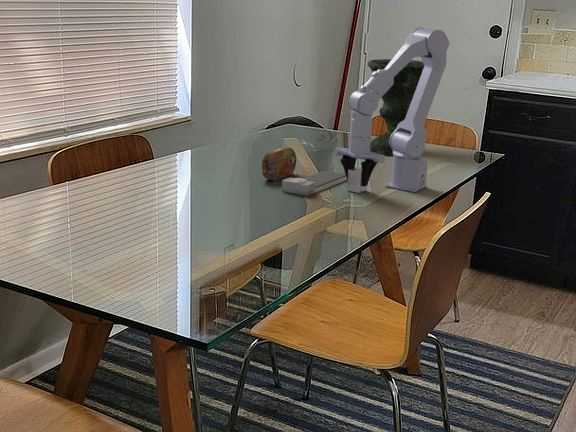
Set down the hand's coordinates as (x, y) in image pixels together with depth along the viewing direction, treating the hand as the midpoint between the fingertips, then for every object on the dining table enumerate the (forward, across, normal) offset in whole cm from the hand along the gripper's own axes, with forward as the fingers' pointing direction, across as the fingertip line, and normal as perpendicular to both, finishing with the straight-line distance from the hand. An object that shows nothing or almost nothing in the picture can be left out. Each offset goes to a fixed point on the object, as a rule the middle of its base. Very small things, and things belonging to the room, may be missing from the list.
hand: (357, 184), depth 206 cm
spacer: (+2, 0, 0) cm, 2 cm away
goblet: (+2, -15, +54) cm, 56 cm away
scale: (+2, -12, -2) cm, 12 cm away
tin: (+2, -25, -2) cm, 25 cm away
